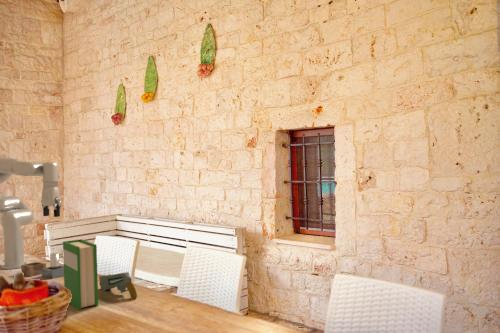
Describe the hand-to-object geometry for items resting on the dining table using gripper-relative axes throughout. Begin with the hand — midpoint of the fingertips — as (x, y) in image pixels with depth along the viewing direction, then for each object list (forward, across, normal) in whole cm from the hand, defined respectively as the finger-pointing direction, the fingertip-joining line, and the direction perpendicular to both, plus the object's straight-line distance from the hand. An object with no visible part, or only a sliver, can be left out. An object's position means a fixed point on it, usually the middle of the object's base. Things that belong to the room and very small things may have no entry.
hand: (51, 216), depth 231 cm
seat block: (+28, +16, -9) cm, 34 cm away
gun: (+29, +69, -14) cm, 76 cm away
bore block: (+28, +2, -12) cm, 31 cm away
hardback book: (+28, +66, -30) cm, 78 cm away
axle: (+28, +16, -9) cm, 34 cm away
